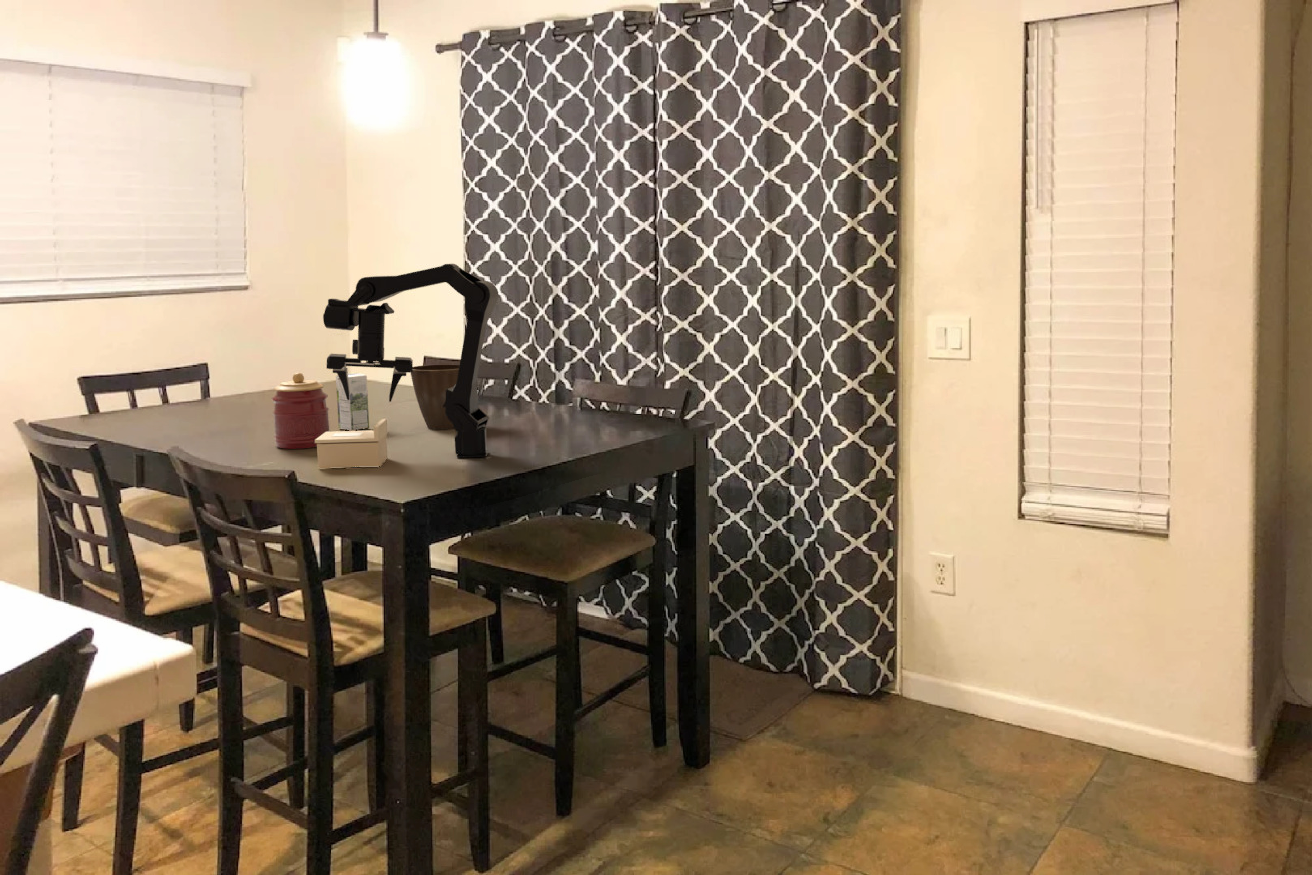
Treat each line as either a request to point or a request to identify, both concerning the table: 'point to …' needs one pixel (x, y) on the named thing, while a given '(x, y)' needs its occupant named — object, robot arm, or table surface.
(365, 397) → the syrup box
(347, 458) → the base
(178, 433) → the table surface
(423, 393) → the plant pot
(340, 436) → the cream angled plate
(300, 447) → the canister
